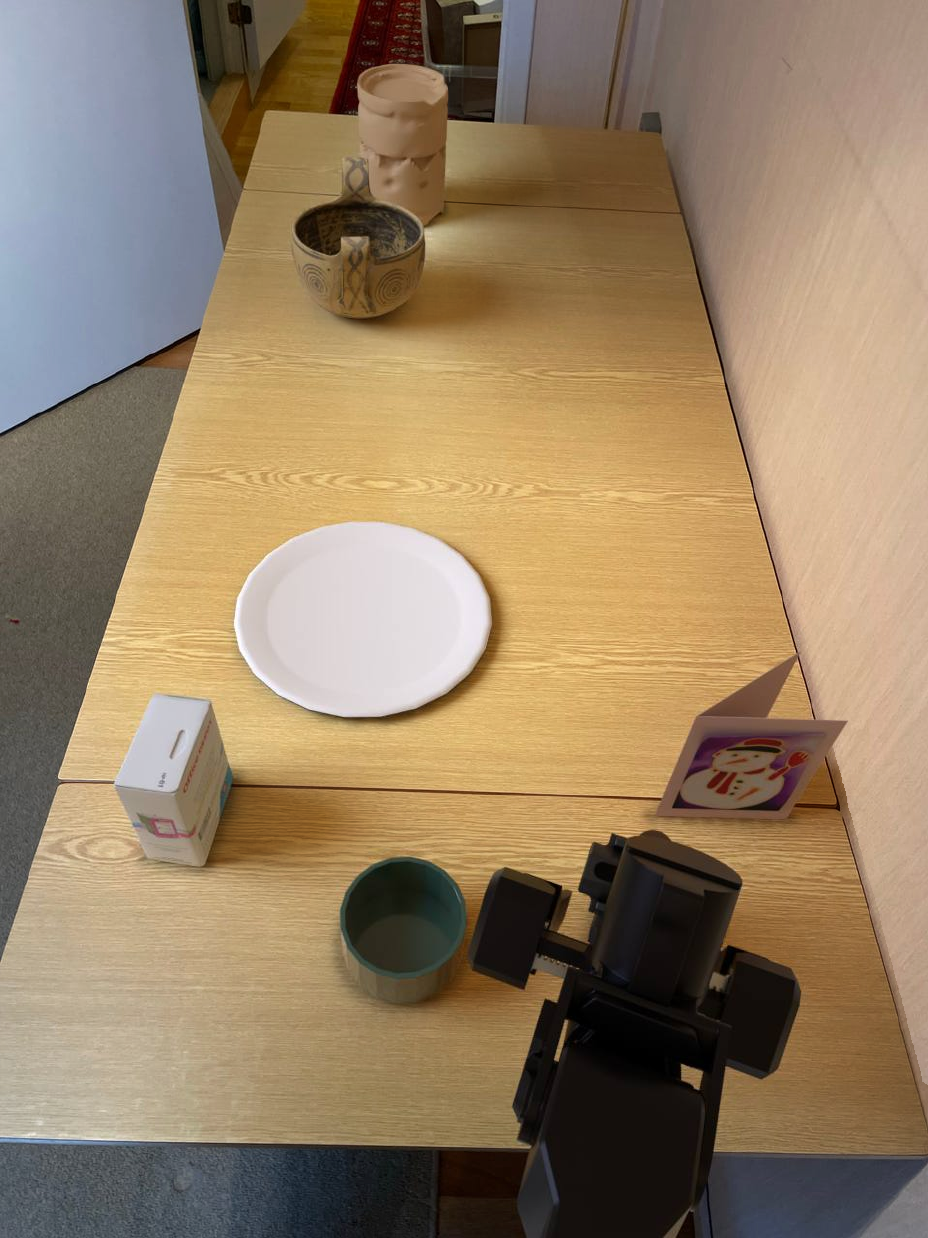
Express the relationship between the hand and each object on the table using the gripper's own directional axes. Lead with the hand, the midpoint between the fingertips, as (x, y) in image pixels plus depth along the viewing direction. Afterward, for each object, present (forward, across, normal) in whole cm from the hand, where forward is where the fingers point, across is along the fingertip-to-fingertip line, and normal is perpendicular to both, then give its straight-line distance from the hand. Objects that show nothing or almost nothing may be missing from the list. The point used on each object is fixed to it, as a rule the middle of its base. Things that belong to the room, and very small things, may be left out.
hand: (633, 920), depth 66 cm
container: (+81, +58, -64) cm, 119 cm away
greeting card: (+22, -5, -6) cm, 23 cm away
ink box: (+8, +36, +8) cm, 38 cm away
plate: (+26, +31, -10) cm, 42 cm away
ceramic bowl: (+62, +54, -46) cm, 94 cm away
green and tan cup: (+6, +15, +10) cm, 19 cm away
